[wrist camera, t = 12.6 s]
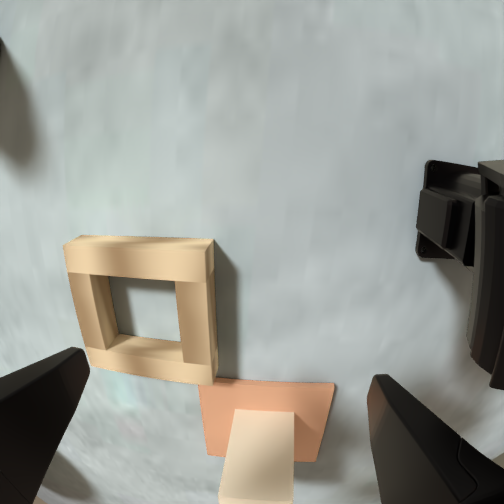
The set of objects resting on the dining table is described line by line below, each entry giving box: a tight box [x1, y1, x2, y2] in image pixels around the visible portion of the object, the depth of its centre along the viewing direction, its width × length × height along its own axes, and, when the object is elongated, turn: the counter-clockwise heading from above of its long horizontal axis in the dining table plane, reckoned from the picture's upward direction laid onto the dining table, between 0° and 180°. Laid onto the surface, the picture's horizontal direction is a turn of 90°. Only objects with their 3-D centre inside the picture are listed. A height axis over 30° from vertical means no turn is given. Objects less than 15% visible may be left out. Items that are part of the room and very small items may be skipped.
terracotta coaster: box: [198, 377, 334, 462], centre depth 26 cm, size 11×11×1 cm
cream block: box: [218, 409, 294, 504], centre depth 22 cm, size 5×5×9 cm
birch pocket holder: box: [63, 235, 219, 386], centre depth 22 cm, size 10×10×2 cm
